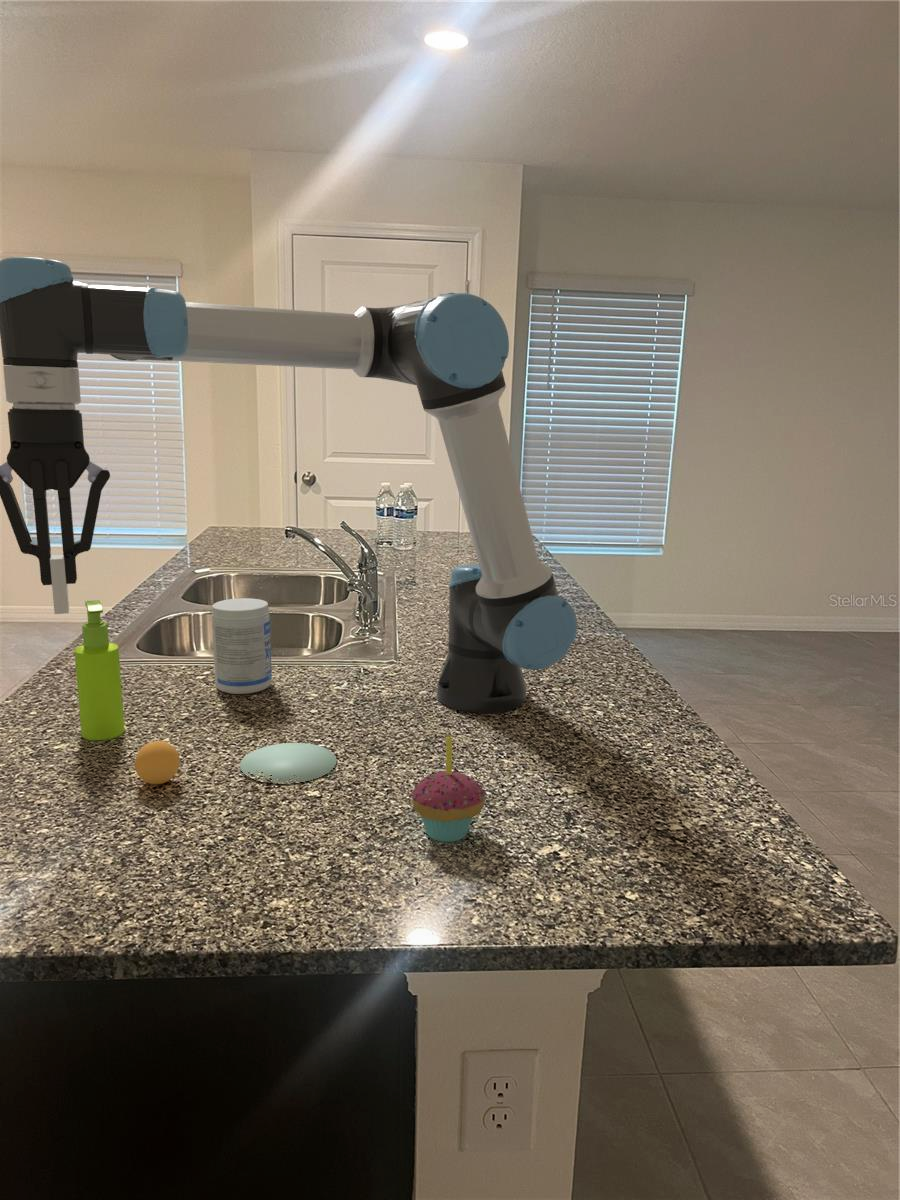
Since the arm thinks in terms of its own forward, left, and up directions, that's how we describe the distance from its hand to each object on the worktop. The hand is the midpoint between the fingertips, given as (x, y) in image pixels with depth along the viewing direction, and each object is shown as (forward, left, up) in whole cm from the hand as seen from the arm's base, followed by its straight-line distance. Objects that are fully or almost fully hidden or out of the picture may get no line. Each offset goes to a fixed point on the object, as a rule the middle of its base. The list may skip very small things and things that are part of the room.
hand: (61, 610), depth 99 cm
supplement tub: (+5, -42, -24) cm, 48 cm away
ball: (-7, -7, -21) cm, 23 cm away
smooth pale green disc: (-19, -19, -24) cm, 36 cm away
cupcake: (-46, -11, -24) cm, 53 cm away
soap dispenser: (+11, -16, -24) cm, 31 cm away
